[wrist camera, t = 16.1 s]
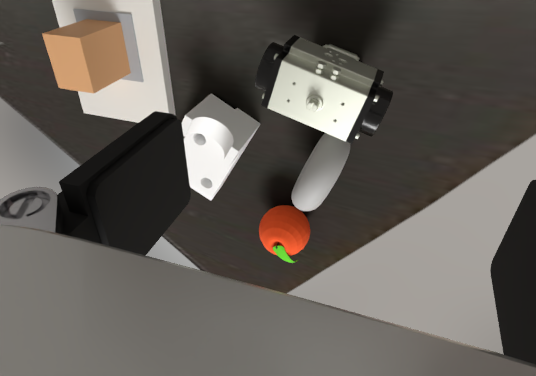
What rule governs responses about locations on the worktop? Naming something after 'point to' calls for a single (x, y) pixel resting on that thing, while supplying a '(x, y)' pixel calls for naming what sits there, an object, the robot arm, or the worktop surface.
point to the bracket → (214, 142)
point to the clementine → (284, 231)
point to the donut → (320, 172)
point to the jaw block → (87, 54)
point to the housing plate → (139, 56)
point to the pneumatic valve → (323, 88)
